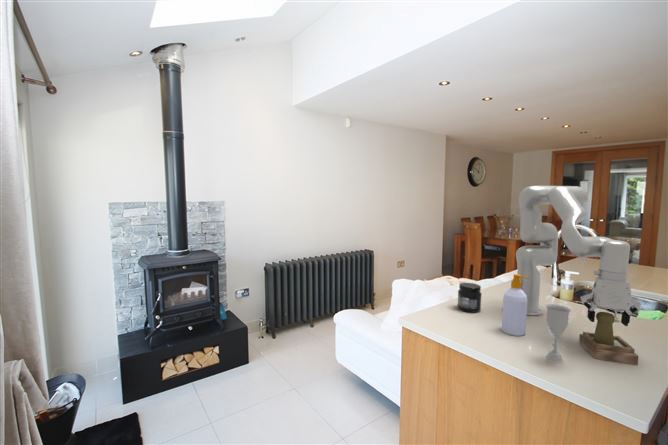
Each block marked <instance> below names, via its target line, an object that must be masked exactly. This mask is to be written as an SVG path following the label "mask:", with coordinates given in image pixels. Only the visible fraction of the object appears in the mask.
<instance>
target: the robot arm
mask: <svg viewBox="0 0 668 445" xmlns="http://www.w3.org/2000/svg"><path fill="white" fill-rule="evenodd" d="M587 201H588V193H587V191H586V190H585V189H584V187H581V186H577V185H576V186H575V185H573V186H572V185H529V186H526V187H525V188H523V189H522V190H521V191H520V193H519V197H518V205H519V210H520V224H519V225H520V227H519V228H520V229H519V230H520V236H519V237H520V239H521V240H522V242H523V243H528V244H529V243H530V244H534V243H535V244H540V245H523V246H521V247H519V248H518V249H517V250H516V252H515V259H516V266H517V267H516V268H517V270H516V271H517V272H516V274H519V275H521V276H526V277H529V279H527V278H519V280H520V282H521V290H523V291H524V293H525V294H526V295H527V315H526V316H536V317H537V316H542V314H543V310H542V309H541V308H539V307H540V306H539V304H540V292H541V291H540V290H541V274H540V272H539V269H538V268H537V267H543V266H544V267H547V266H553V265H554V264H556V262H557V260H558V254H559V252H558V251H559V233H558V229H557V227H556V226H555V225H554V224H553V223H550V222H543V221H542V218H543V214H542V213H543V212H542V211H541V209H540V208H539V206H538V205H551V206H552V208H553V209H554V211H555V212H556V214H557V216H558V217H559V218H560V219H561V220H560V221H562V224H561V228H560V229H561V230H560V234H561V240H562V242H564V245H565V246H566V247H567V249H568V250H569V251H570V253H571V254H573V255H574V256H575V257H579V258H600V259H599V262H600V263H599V267H598V270H594V271H593V274H594V275H596V278H595V280H594V283H593V286H592V289H591V290H592V291H591V293H587V294H585V295H581V296H580V297H579V298H580V300H581V302H582V305H584V307H586V309H587V316H586V317H587V319H588V321H590V322H591V323H595V319H596V311H595V310H596V309H597V308H601V309H609V310H611V309H617V310H623V311H622V313H621V319H620V323H621V324H622V325H623V326H625V327H628V325H629V324H630V319H631V316H633V314H634V313H636V312H637V311H638V309H640V307H641V306H642V303H641V302H639V301H638V300H636V299H634V298H632V293H631V292H632V291H631V290H632V289H631V283H630V281H628V279H627V278H628V271H629V270H628V268H629V260H630V252H631V244H630V243H629V242H628V241H623V240H618V239H617V240H616V239H612V238H610V237H607V236H582V235H581V233H580V232H579V230H578V229H577V226H576V225H578V224H579V223H580V222H582V221H584V220H585V219H586V217H587V215H588V214H587V211H586V210H585V208H584V207H583V205H585V204H586V203H587ZM589 299H590V300H591V302H590V303H588V301H587V300H589ZM631 304H632V305H631Z"/></svg>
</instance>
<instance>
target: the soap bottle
mask: <svg viewBox="0 0 668 445" xmlns="http://www.w3.org/2000/svg"><path fill="white" fill-rule="evenodd" d="M519 278H527V279H529V277H526V276H521V275H519V274H517V273H513V278H512V280H511V282H510V283H511V284H510V288H508V289H507V290H505V291H504V294H503V298H502V302H503V303H502V318H501V331H502V332H503V333H505V334H508V335H511V336H515V337H516V336H517V337H521V336H525V335H526V330H527V329H526V328H527V316H528V315H527V295H526V294H525V293H524V291H523V290H521V282H520V280H519Z"/></svg>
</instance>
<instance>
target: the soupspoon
mask: <svg viewBox="0 0 668 445" xmlns="http://www.w3.org/2000/svg"><path fill="white" fill-rule="evenodd" d="M610 311H613V312H614V313H615V321H614V323H618V322H619V323H621V320H619V315H618V313H619V312H624V311H623V310H617V309H610Z"/></svg>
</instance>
